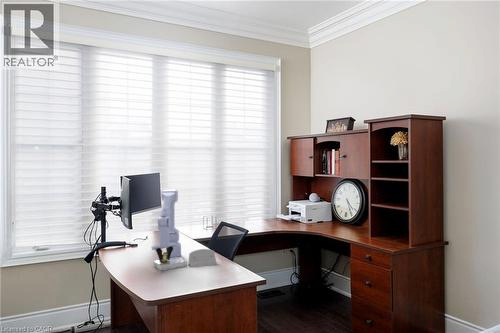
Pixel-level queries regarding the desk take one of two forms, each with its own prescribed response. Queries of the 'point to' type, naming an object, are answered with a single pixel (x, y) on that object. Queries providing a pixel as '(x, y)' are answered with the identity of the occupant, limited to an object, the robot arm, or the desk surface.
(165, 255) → the bushing
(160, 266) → the jig
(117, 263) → the desk surface
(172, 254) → the robot arm
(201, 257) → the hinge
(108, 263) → the desk surface
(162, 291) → the desk surface
